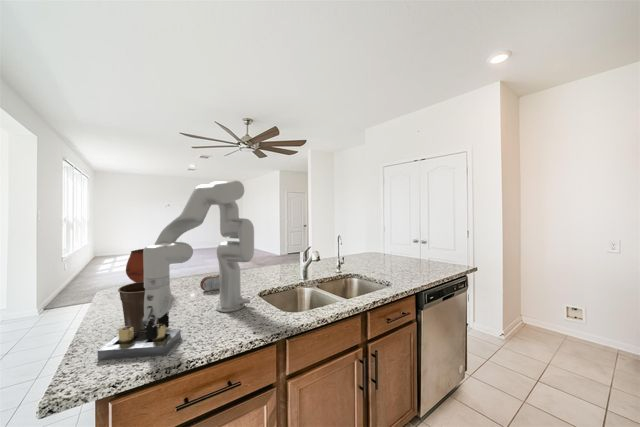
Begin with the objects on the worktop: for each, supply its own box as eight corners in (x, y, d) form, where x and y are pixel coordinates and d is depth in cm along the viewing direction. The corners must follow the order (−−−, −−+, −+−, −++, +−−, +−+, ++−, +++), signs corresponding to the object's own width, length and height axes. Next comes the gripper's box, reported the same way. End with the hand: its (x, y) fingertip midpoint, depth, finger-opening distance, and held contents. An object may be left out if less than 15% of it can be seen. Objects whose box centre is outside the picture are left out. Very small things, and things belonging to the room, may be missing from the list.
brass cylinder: (167, 343, 93) (167, 323, 93) (162, 349, 89) (161, 328, 89) (155, 343, 93) (155, 323, 92) (149, 349, 89) (149, 328, 88)
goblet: (160, 287, 160) (159, 246, 160) (172, 293, 148) (171, 249, 147) (121, 295, 146) (120, 250, 145) (131, 303, 133) (130, 253, 133)
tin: (226, 286, 160) (226, 273, 160) (228, 288, 158) (228, 274, 158) (200, 292, 151) (199, 277, 151) (201, 293, 148) (201, 278, 148)
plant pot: (171, 325, 107) (170, 285, 107) (122, 339, 96) (121, 295, 96) (161, 314, 119) (160, 278, 119) (116, 325, 108) (115, 285, 108)
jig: (180, 337, 97) (180, 318, 97) (165, 355, 85) (165, 333, 85) (121, 341, 95) (121, 321, 94) (97, 360, 83) (97, 337, 83)
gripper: (156, 288, 82) (157, 344, 82) (178, 274, 99) (179, 321, 100) (130, 289, 81) (131, 346, 81) (157, 275, 98) (158, 322, 99)
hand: (158, 332), depth 90 cm, fingers open, 8 cm apart
